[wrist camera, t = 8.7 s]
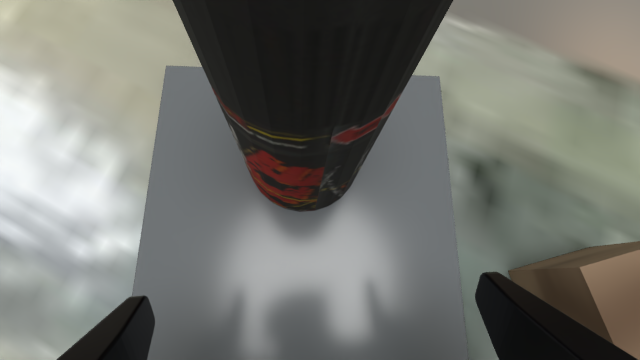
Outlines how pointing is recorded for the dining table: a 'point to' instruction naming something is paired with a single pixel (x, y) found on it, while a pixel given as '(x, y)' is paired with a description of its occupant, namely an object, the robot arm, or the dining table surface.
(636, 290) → the walnut box
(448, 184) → the slate board
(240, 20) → the deodorant
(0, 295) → the dining table surface
